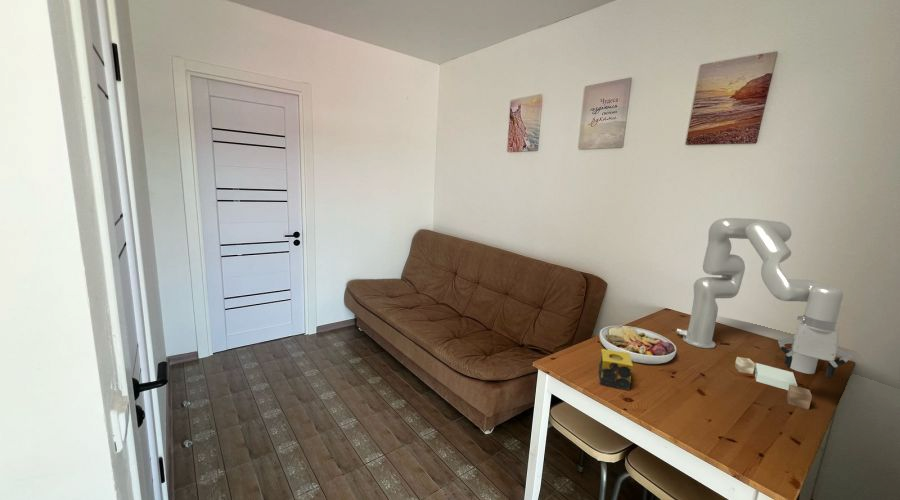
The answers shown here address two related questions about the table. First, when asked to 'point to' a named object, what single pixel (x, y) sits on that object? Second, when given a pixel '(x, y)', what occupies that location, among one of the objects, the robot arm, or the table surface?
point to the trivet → (774, 376)
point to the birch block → (744, 365)
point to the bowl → (638, 344)
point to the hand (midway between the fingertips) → (807, 371)
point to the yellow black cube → (615, 369)
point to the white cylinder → (804, 364)
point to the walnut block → (799, 396)
